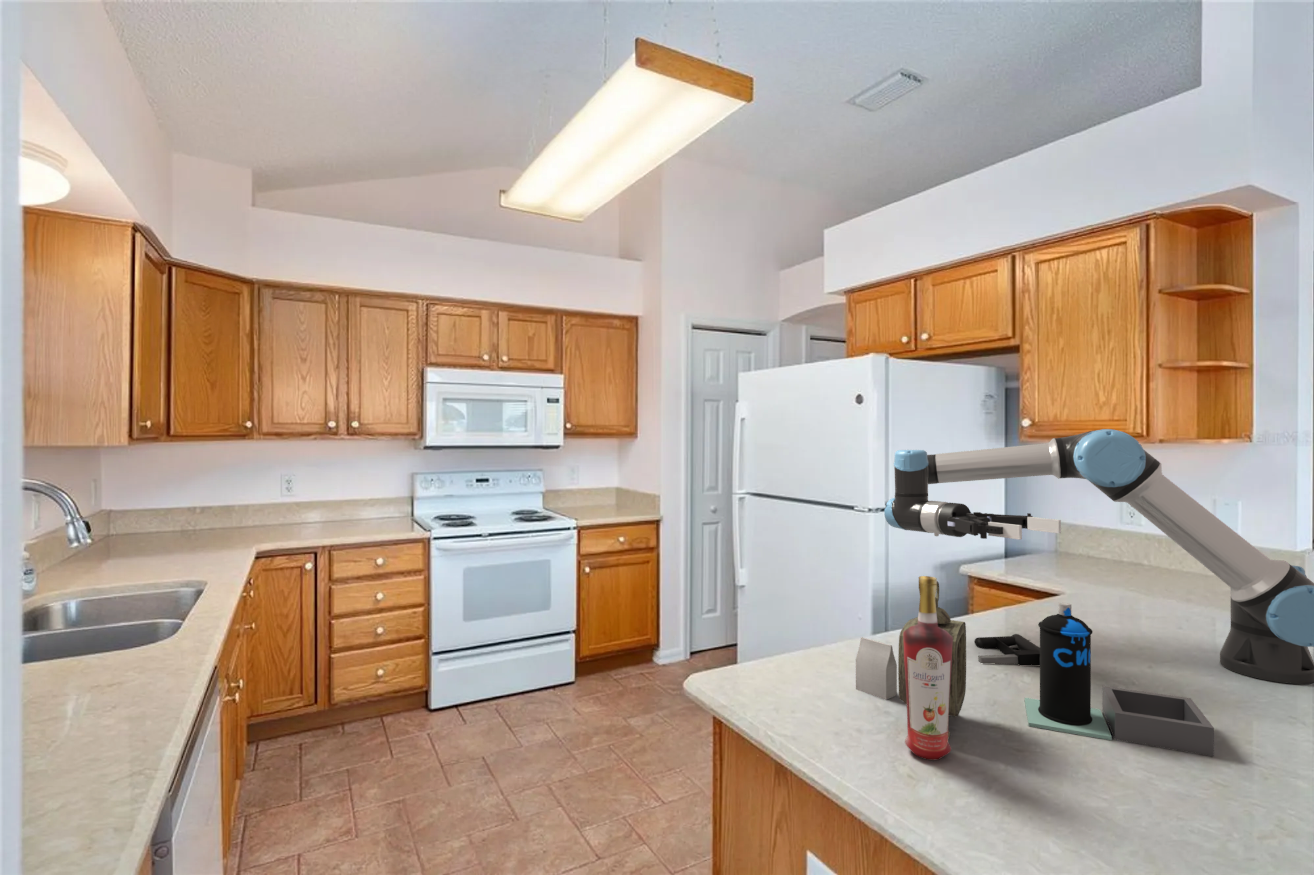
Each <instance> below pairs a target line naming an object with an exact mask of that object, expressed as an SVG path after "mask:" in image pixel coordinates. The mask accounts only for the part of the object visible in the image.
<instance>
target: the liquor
mask: <svg viewBox="0 0 1314 875" xmlns="http://www.w3.org/2000/svg"><path fill="white" fill-rule="evenodd" d="M937 581H938V579H937V578H936V577H934V576H931V575H930V576H927V575H926V576H925V575H923V576H922V575H921V576H919V577H918V592H919V604H918V605H919V606H918V614H917V615H918V616H917V617H918V625H914V626H911V627H909V628H908V629H907V630H905V631H904V632H903V640H904V665H905V679H906V697H907V704H906V718H907V721H906V722H907V723H906V724H907V726H906V727H907V736H906V737H905V739H904V744H905V746H906V747H907V748H908V749H909V750H910V751H911V752H912V753H913V754H914V756H916V757H918V758H921V759H924V760H928V761H937V760H940V759H942V758H944V757H945V756H947V755H948V754H949V753H951V751H952V747H951V745H950V743H949V738H948V730H949V722H950V721H949V720H950V717H949V716H950V715H949V698H950V683H951V668H952V644H953V637H952V636H951V635H950V634H949V633H948V632H947V631H945V630H944V629H942V628H940V627H938V623H937V613H936V602H935V597H936V593H937Z"/></svg>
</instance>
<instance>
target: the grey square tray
mask: <svg viewBox="0 0 1314 875" xmlns="http://www.w3.org/2000/svg"><path fill="white" fill-rule="evenodd" d="M1101 687H1102V688H1101V689H1102V692H1101V693H1102V698H1101V699H1102V700H1101V701H1102V703H1101V704H1102V707H1101V708H1102V710H1101V711H1102V712H1103V713H1102V714H1104V715H1103V716H1104V718H1105V719H1106V720H1105V721H1107V722H1106V723H1107V724H1108V728H1110V732H1111V734H1112V737H1113V739H1114V740H1116V741H1120V742H1126V743H1131V744H1137V745H1143V746H1144V745H1145V746H1151V747H1155V748H1161V749H1168V750H1172V749H1174V750H1173V751H1178V752H1184V753H1185V752H1186V753H1191V754H1196V753H1197V754H1196V755H1200V756H1201V755H1202V756H1208V757H1213V758H1214V757H1215V727H1214V726H1213V724H1212V723H1211V722H1210V721H1209V720H1208V718H1207V717H1206V716H1205V715H1204V713H1203V712H1202V711H1201V709H1199V707H1198V705H1196V703H1195V701H1193V699H1192V698H1191V697H1185V696H1177V695H1171V694H1163V693H1158V692H1157V693H1156V692H1149V691H1141V690H1138V689H1137V690H1135V689H1130V688H1129V689H1128V688H1123V687H1113V686H1109V685H1108V686H1107V685H1102V686H1101Z"/></svg>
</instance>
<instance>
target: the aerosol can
mask: <svg viewBox="0 0 1314 875" xmlns="http://www.w3.org/2000/svg"><path fill="white" fill-rule="evenodd" d="M1038 627H1039V647H1040V666H1039V700H1040V706H1039V708H1038V711H1039V713H1040V714H1041V715H1043V716H1044V717H1046V718H1048V719H1050V720H1053V721H1055V722H1059V723H1063V724H1068V725H1087V724H1090V723H1091V722H1092V717H1091V708H1092V707H1091V706H1092V704H1091V703H1092V701H1091V699H1092V698H1091V696H1092V693H1091V692H1092V691H1091V690H1092V689H1091V685H1092V684H1091V683H1092V682H1091V680H1092V677H1091V674H1092V671H1091V670H1092V669H1091V668H1092V667H1091V665H1092V664H1091V663H1092V662H1091V661H1092V659H1091V656H1092V655H1091V654H1092V652H1091V650H1092V649H1091V647H1092V645H1091V643H1092V642H1091V640H1092V636H1091V635H1092V634H1093V632H1094V630H1092V628H1091V627H1089V626H1088V624H1087V623H1085V622H1084V620H1082V619H1080V618H1078V617H1075V616H1074V615H1072V604H1071V603H1070V602H1062V601H1060V602H1058V613H1057V614H1051V615H1048V616H1047V617H1044V619H1042V620H1041V621H1039V622H1038Z"/></svg>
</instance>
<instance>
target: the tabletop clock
mask: <svg viewBox="0 0 1314 875" xmlns="http://www.w3.org/2000/svg"><path fill="white" fill-rule="evenodd" d="M939 599H940V583H939V581H938V580H937V590H936V596H935V602H936V613H937V623H938V627H940V628H942V629H944V630H945V631H947V632H948V633H949V634H950V635H951V636H952V637H953V644H952V668H951V683H950V698H949V716H952V717H956V718H957V717H958V716H959V715H960V713H961V710H962V707H963V705H964V701H965V696H966V692H967V690H966V687H967V629H966V628H967V626H966V622H965V621H961V620H953V619H951V617H950V615H949V614H948V612H947V611H946V609H944V608H942V607H939ZM914 625H918V616H917V617H914V618H911V619H909V620H908V621H907V622H906V623H905V624H904V625H903V627H902V628H901V630H900V632H899V637H898V656H897V657H898V658H897V659H898V663H897V664H898V665H897V666H898V667H897V674H898V675H897V680H898V699H899V700H900V701H902V702H903V703H904V704H905V705H907V697H906V679H905V665H904V640H903V632H904V631H905V630H907V629H908V628H909V627H911V626H914ZM950 737H951V733H950V730H949V729H948V739H950Z"/></svg>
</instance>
